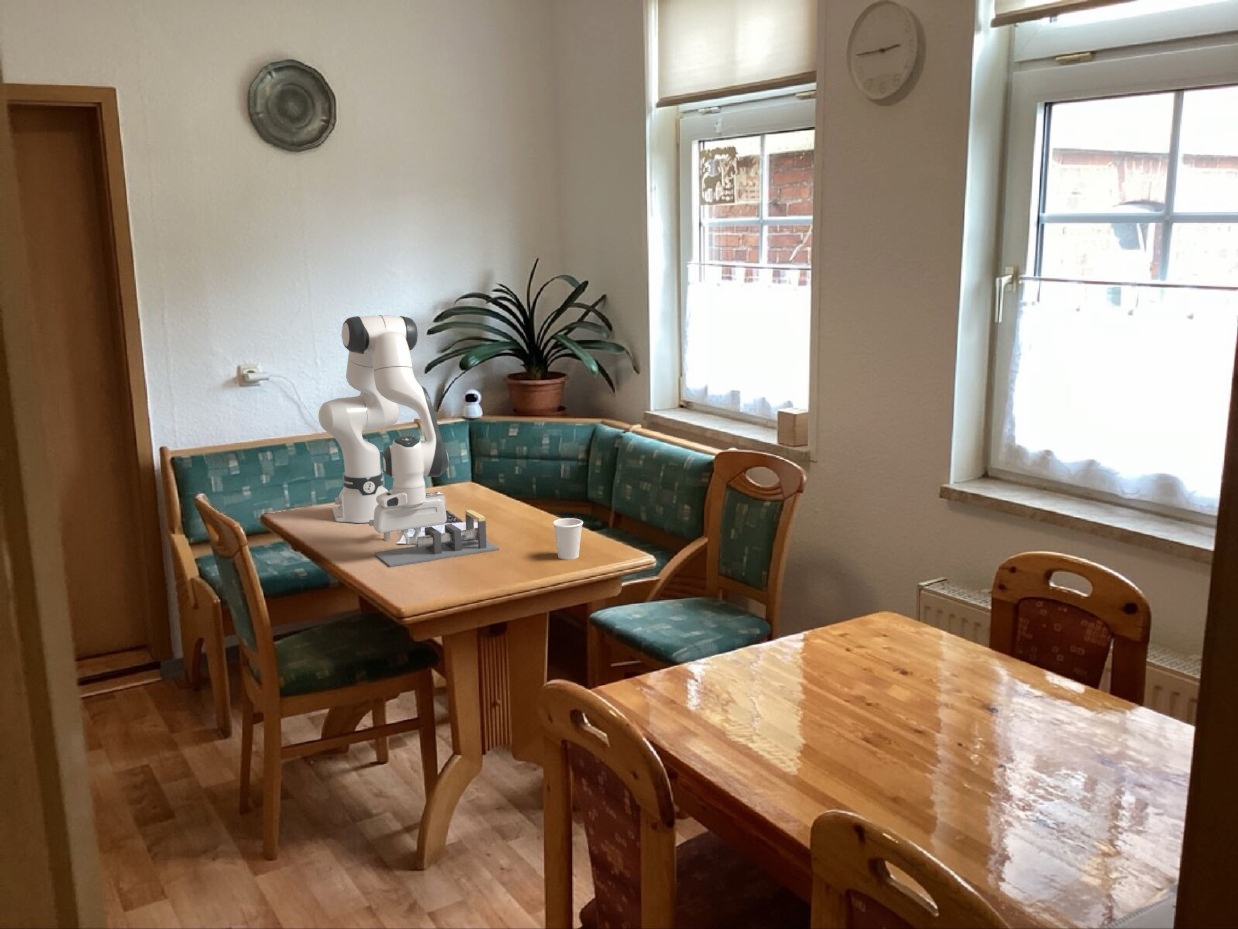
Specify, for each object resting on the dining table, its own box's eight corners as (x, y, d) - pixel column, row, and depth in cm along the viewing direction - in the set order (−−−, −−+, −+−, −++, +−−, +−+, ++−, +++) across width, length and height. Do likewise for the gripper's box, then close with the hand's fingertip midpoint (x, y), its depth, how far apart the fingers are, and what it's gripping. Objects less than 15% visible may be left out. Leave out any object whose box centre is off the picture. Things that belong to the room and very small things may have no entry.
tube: (414, 547, 301) (414, 535, 300) (480, 537, 311) (480, 525, 310) (419, 550, 298) (418, 538, 297) (485, 540, 308) (485, 528, 307)
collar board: (374, 554, 301) (372, 521, 299) (479, 538, 317) (478, 506, 315) (390, 567, 289) (388, 533, 287) (498, 549, 305) (498, 517, 303)
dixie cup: (563, 562, 292) (562, 527, 290) (548, 555, 299) (547, 520, 297) (589, 557, 297) (588, 523, 295) (573, 550, 304) (573, 516, 302)
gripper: (441, 488, 303) (442, 535, 306) (370, 497, 293) (373, 546, 296) (449, 493, 298) (450, 541, 301) (377, 502, 288) (380, 551, 291)
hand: (411, 543), depth 299 cm, fingers closed
